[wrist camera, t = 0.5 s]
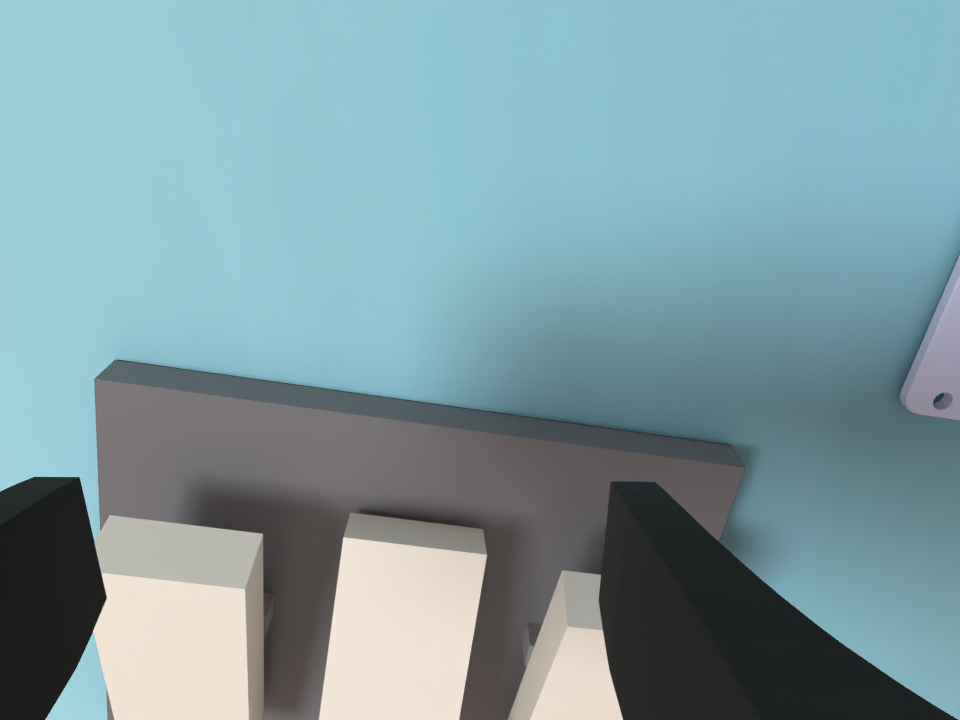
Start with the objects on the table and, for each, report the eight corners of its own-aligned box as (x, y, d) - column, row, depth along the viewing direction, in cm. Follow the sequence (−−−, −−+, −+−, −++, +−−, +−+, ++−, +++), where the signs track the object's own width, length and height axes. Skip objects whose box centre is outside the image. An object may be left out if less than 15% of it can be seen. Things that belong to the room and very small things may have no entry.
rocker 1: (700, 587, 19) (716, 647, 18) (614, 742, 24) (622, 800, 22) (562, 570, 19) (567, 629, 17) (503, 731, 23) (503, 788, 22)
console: (730, 445, 21) (757, 486, 19) (621, 764, 26) (633, 822, 24) (115, 360, 20) (77, 394, 18) (124, 715, 25) (95, 772, 23)
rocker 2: (482, 529, 20) (487, 556, 19) (440, 786, 22) (440, 833, 20) (350, 512, 20) (342, 539, 18) (315, 774, 21) (304, 821, 20)
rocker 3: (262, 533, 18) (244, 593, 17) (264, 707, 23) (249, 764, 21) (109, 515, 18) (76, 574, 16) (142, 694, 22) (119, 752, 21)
